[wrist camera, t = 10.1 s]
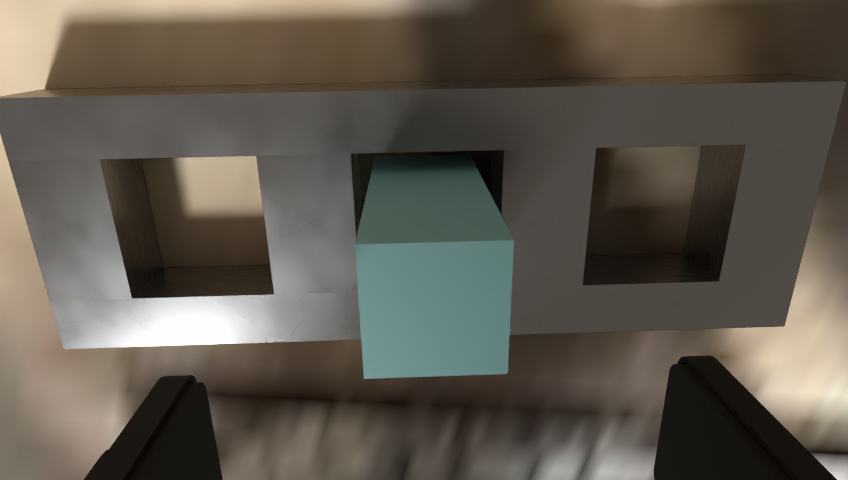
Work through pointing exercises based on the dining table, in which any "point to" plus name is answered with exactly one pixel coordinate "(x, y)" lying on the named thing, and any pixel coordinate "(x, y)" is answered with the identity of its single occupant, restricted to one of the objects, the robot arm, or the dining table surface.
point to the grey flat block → (417, 132)
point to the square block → (432, 271)
